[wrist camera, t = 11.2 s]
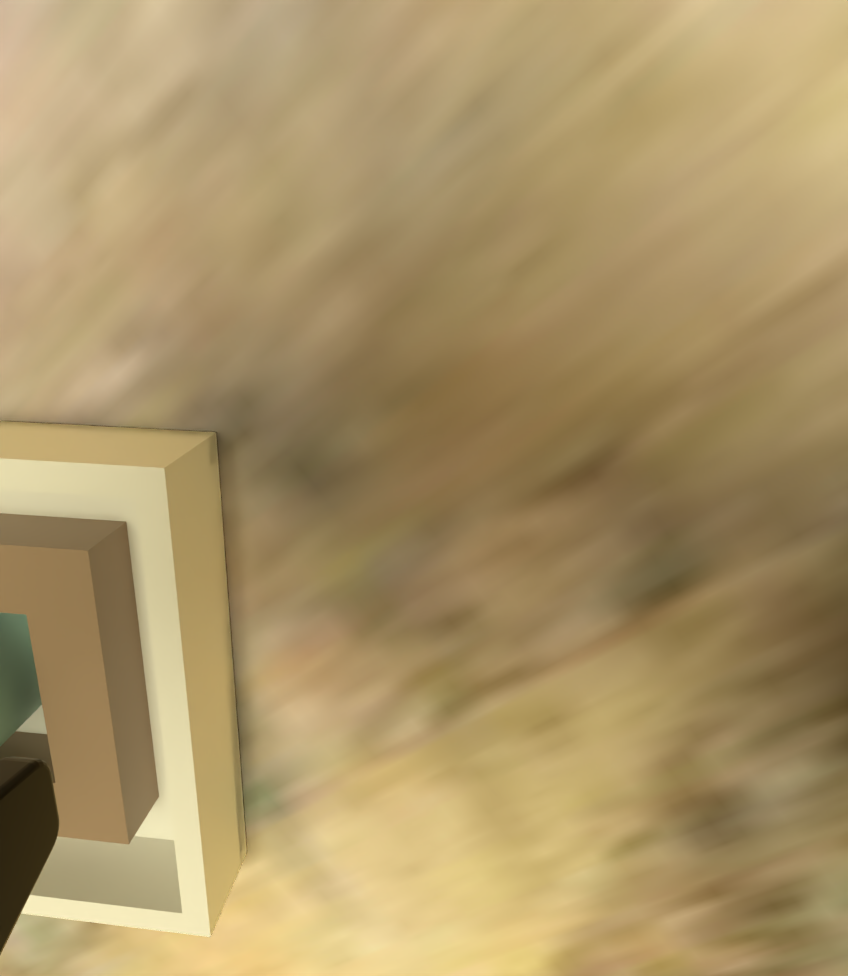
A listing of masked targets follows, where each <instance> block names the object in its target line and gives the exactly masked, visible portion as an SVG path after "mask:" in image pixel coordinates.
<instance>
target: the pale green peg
mask: <svg viewBox="0 0 848 976" xmlns="http://www.w3.org/2000/svg"><path fill="white" fill-rule="evenodd" d="M41 705H42V702H41V696H40V691H39V685H38V679H37V673H36V668H35V662H34V656H33V650H32V645H31V639H30V633H29V628H28V622H27V616H26V615H25V614H12V613H0V746H1V745H2V744H3V743H4V742H5V741H6V740H7V739H8V738H9V737H10V736H11V735H12V734H13V733H14V732H15V731H16V730H17V729H18V728H19V727H20V726H21V725H22V724H23V723H24V722H25V721H26V720H27V719H28V718H29V717H30V716H31V715H32V714H33V713H34V712H35V711H36V710H37V709H38V708H39V707H40V706H41Z"/></svg>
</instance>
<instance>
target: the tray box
mask: <svg viewBox="0 0 848 976" xmlns="http://www.w3.org/2000/svg"><path fill="white" fill-rule="evenodd" d="M0 613H12V614H25V615H26V616H27V622H28V628H29V633H30V639H31V645H32V650H33V656H34V662H35V668H36V673H37V679H38V685H39V691H40V696H41V702H42V705H41V706H40V707H39V708H38V709H37V710H36V711H35V712H34V713H33V714H32V715H31V716H30V717H29V718H28V719H27V720H26V721H25V722H24V723H23V724H22V725H21V726H20V727H19V728H18V729H17V730H16V731H15V732H14V733H13V734H12V735H11V736H10V737H9V738H8V739H7V740H6V741H5V742H4V743H3V744H2V745H1V746H0V759H2V758H5V757H12V756H16V757H26V758H36V759H41V760H43V761H45V762H46V763H47V764H48V766H49V767H50V770H51V775H52V780H53V786H54V792H55V797H56V803H57V809H58V814H59V831H58V836H57V839H56V842H55V845H54V847H53V849H52V851H51V853H50V855H49V857H48V859H47V861H46V863H45V865H44V867H43V870H42V872H41V874H40V876H39V878H38V880H37V882H36V884H35V886H34V888H33V890H32V892H31V894H30V896H29V898H28V900H27V902H26V904H25V906H24V908H23V910H22V912H21V913H22V914H30V915H38V916H46V917H54V918H62V919H70V920H78V921H86V922H94V923H102V924H110V925H118V926H126V927H134V928H142V929H150V930H158V931H166V932H174V933H182V934H190V935H198V936H206V937H211V935H212V933H213V930H214V928H215V926H216V923H217V921H218V919H219V916H220V914H221V912H222V909H223V907H224V905H225V903H226V900H227V898H228V896H229V893H230V891H231V889H232V886H233V884H234V882H235V879H236V877H237V875H238V872H239V870H240V868H241V865H242V863H243V861H244V858H245V856H246V854H247V846H246V832H245V818H244V805H243V791H242V777H241V764H240V750H239V737H238V723H237V709H236V696H235V682H234V668H233V655H232V641H231V627H230V614H229V600H228V586H227V573H226V559H225V545H224V532H223V518H222V504H221V491H220V477H219V464H218V450H217V436H216V432H205V431H186V430H167V429H148V428H129V427H110V426H91V425H73V424H54V423H35V422H16V421H0Z"/></svg>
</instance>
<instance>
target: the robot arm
mask: <svg viewBox="0 0 848 976" xmlns="http://www.w3.org/2000/svg"><path fill="white" fill-rule="evenodd" d="M58 831H59V814H58V809H57V803H56V797H55V792H54V786H53V780H52V775H51V770H50V767H49V766H48V764H47V763H46V762H45V761H43V760H41V759H36V758H26V757H16V756H12V757H5V758H2V759H0V954H1V952H2V950H3V948H4V946H5V944H6V942H7V940H8V938H9V936H10V934H11V932H12V930H13V928H14V926H15V924H16V922H17V920H18V918H19V916H20V914H21V912H22V910H23V908H24V906H25V904H26V902H27V900H28V898H29V896H30V894H31V892H32V890H33V888H34V886H35V884H36V882H37V880H38V878H39V876H40V874H41V872H42V870H43V867H44V865H45V863H46V861H47V859H48V857H49V855H50V853H51V851H52V849H53V847H54V845H55V842H56V839H57V836H58Z"/></svg>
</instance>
